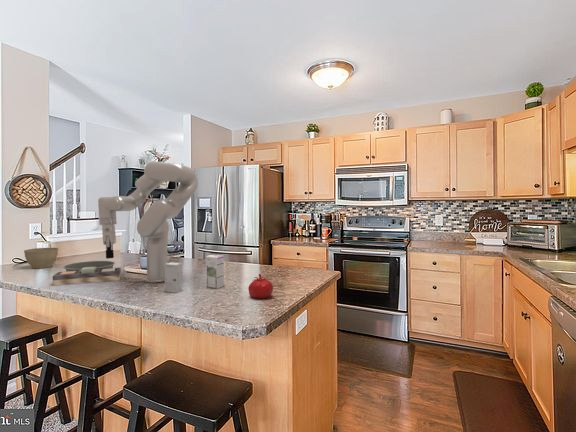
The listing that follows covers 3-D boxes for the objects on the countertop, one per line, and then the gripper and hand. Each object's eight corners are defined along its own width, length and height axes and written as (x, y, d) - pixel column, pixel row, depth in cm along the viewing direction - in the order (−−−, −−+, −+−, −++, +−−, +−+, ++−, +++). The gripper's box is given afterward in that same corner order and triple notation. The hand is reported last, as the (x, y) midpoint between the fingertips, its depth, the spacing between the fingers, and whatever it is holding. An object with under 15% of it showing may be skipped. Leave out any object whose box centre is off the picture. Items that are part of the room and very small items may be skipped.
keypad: (120, 276, 164) (120, 267, 164) (119, 280, 155) (118, 271, 155) (58, 281, 153) (58, 271, 153) (52, 285, 144) (52, 276, 144)
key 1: (76, 275, 154) (76, 271, 154) (73, 277, 149) (73, 273, 149) (62, 276, 152) (62, 271, 152) (59, 278, 147) (59, 274, 147)
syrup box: (224, 286, 144) (224, 254, 143) (216, 289, 138) (216, 256, 138) (214, 284, 146) (214, 253, 146) (206, 287, 141) (206, 255, 140)
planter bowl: (17, 269, 181) (16, 250, 181) (43, 264, 197) (42, 247, 197) (40, 270, 178) (40, 251, 178) (65, 265, 194) (64, 247, 194)
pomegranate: (263, 302, 120) (263, 278, 120) (243, 297, 125) (243, 275, 125) (277, 295, 129) (277, 273, 128) (258, 291, 134) (258, 270, 133)
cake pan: (77, 279, 158) (77, 270, 158) (54, 273, 171) (54, 265, 170) (124, 270, 179) (124, 263, 179) (101, 266, 192) (101, 259, 191)
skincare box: (164, 291, 134) (163, 263, 133) (171, 289, 138) (170, 262, 138) (176, 293, 132) (175, 264, 132) (182, 290, 136) (182, 262, 136)
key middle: (96, 270, 157) (96, 266, 157) (94, 272, 152) (94, 268, 152) (83, 271, 155) (83, 267, 155) (80, 273, 150) (80, 269, 150)
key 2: (115, 272, 161) (115, 268, 161) (114, 274, 156) (114, 270, 156) (103, 273, 159) (102, 269, 159) (101, 275, 154) (101, 271, 154)
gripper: (114, 221, 151) (116, 259, 152) (117, 221, 165) (119, 255, 165) (97, 222, 148) (99, 261, 149) (101, 221, 162) (103, 256, 162)
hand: (109, 258), depth 157 cm, fingers closed
